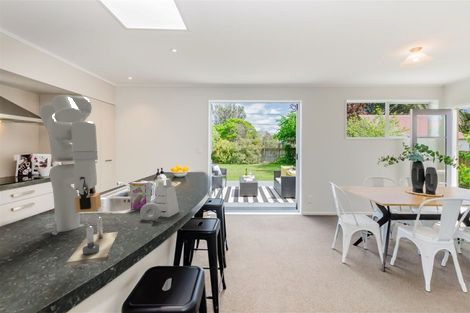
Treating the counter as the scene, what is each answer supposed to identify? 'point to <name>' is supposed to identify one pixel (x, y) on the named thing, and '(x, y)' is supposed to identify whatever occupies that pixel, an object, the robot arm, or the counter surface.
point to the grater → (166, 198)
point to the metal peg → (90, 243)
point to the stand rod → (99, 228)
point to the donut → (146, 207)
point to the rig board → (103, 251)
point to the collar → (94, 203)
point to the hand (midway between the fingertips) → (88, 206)
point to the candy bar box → (139, 194)
